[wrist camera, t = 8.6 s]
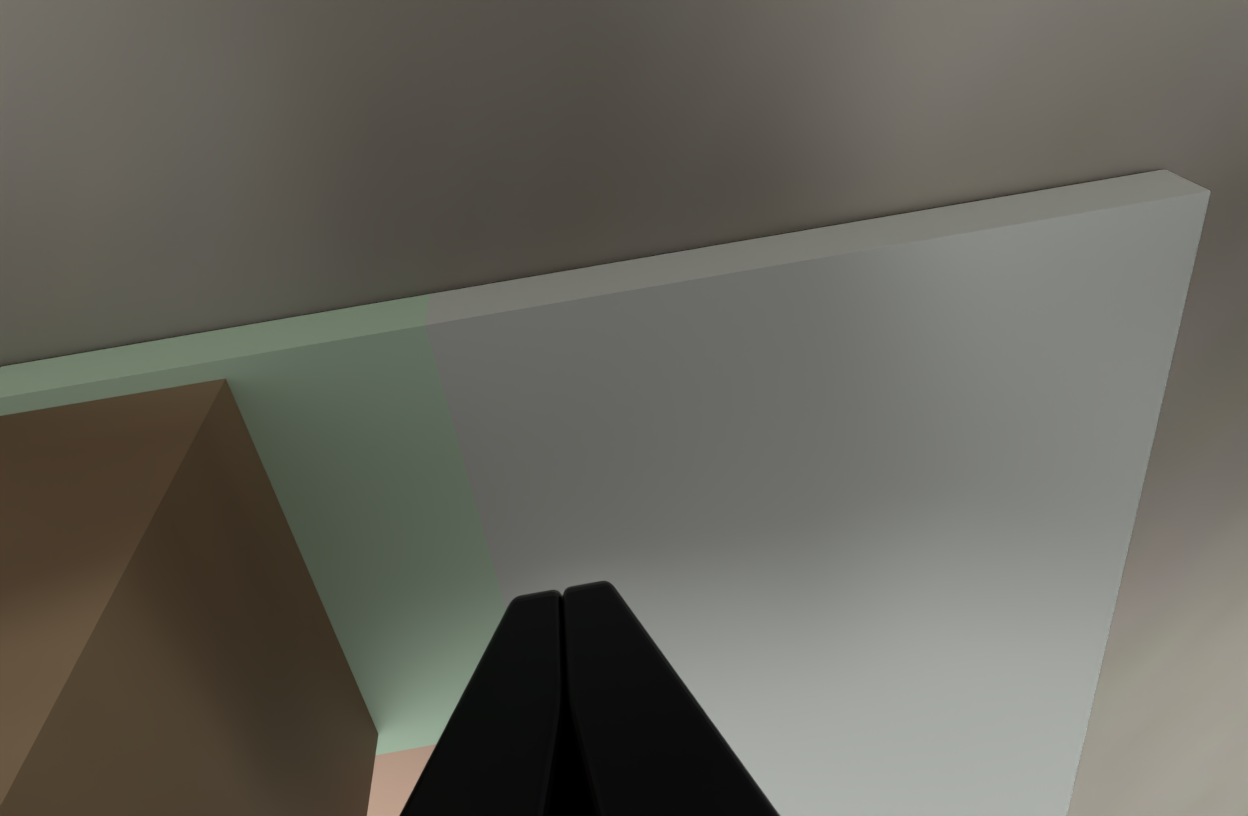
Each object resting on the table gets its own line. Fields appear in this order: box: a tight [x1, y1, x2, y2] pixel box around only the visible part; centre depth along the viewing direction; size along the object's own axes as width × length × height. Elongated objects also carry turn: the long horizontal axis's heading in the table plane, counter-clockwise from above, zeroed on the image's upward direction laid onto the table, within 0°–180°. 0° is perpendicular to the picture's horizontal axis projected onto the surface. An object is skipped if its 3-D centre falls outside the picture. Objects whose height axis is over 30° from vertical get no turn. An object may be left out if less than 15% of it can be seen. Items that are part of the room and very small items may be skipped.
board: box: [0, 169, 1211, 816], centre depth 10 cm, size 13×9×1 cm
